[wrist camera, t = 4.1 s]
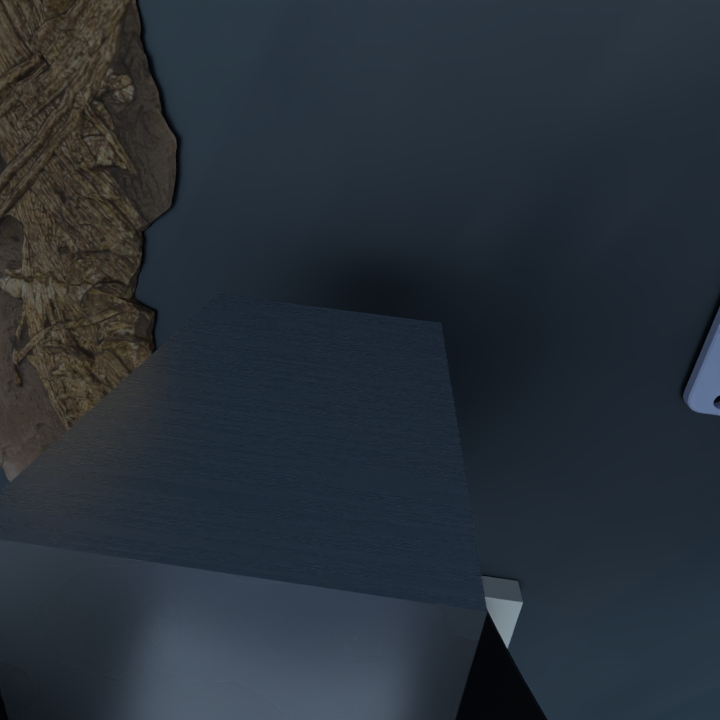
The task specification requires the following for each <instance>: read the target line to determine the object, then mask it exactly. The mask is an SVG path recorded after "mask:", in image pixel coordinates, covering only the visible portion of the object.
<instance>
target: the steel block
mask: <svg viewBox="0 0 720 720" xmlns="http://www.w3.org/2000/svg"><path fill="white" fill-rule="evenodd" d="M486 615H487V607H486V601H485V594H484V588H483V582H482V576H481V569H480V563H479V557H478V550H477V544H476V538H475V531H474V525H473V519H472V513H471V506H470V500H469V494H468V487H467V481H466V475H465V468H464V462H463V456H462V450H461V443H460V437H459V431H458V424H457V418H456V412H455V406H454V399H453V393H452V387H451V380H450V374H449V368H448V361H447V355H446V349H445V343H444V336H443V330H442V324H441V323H439V322H431V321H424V320H416V319H408V318H401V317H393V316H385V315H378V314H370V313H362V312H355V311H347V310H339V309H332V308H324V307H316V306H309V305H301V304H293V303H285V302H278V301H270V300H262V299H255V298H247V297H239V296H232V295H224V294H218V295H217V296H216V297H215V298H214V299H213V300H212V301H211V302H210V303H208V304H207V305H206V306H205V307H204V308H203V309H202V310H201V311H200V312H198V313H197V314H196V315H195V316H194V317H193V318H192V319H191V320H190V321H188V322H187V323H186V324H185V325H184V326H183V327H182V328H181V329H180V330H178V331H177V332H176V333H175V334H174V335H173V336H172V337H171V338H170V339H168V340H167V341H166V342H165V343H164V344H163V345H162V346H161V347H160V348H158V349H157V350H156V351H155V352H154V353H153V354H152V355H151V356H150V357H148V358H147V359H146V360H145V361H144V362H143V363H142V364H141V365H140V366H139V367H137V368H136V369H135V370H134V371H133V372H132V373H131V374H130V375H129V376H127V377H126V378H125V379H124V380H123V381H122V382H121V383H120V384H119V385H117V386H116V387H115V388H114V389H113V390H112V391H111V392H110V393H109V394H107V395H106V396H105V397H104V398H103V399H102V400H101V401H100V402H99V403H97V404H96V405H95V406H94V407H93V408H92V409H91V410H90V411H89V412H87V413H86V414H85V415H84V416H83V417H82V418H81V419H80V420H79V421H77V422H76V423H75V424H74V425H73V426H72V427H71V428H70V429H69V430H67V431H66V432H65V433H64V434H63V435H62V436H61V437H60V438H59V439H57V440H56V441H55V442H54V443H53V444H52V445H51V446H50V447H49V448H48V449H46V450H45V451H44V452H43V453H42V454H41V455H40V456H39V457H38V458H36V459H35V460H34V461H33V462H32V463H31V464H30V465H29V466H28V467H26V468H25V469H24V470H23V471H22V472H21V473H20V474H19V475H18V476H16V477H15V478H14V479H13V480H12V481H11V482H10V483H9V484H8V485H6V486H5V487H4V488H3V489H2V490H1V491H0V692H1V696H2V699H3V703H4V706H5V710H6V713H7V716H8V720H455V718H456V715H457V712H458V708H459V705H460V702H461V698H462V695H463V692H464V688H465V685H466V682H467V678H468V675H469V672H470V668H471V665H472V662H473V658H474V655H475V652H476V648H477V645H478V641H479V638H480V635H481V631H482V628H483V625H484V621H485V618H486Z"/></svg>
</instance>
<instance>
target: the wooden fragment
mask: <svg viewBox="0 0 720 720" xmlns="http://www.w3.org/2000/svg"><path fill="white" fill-rule="evenodd" d="M140 33H141V27H140V19H139V13H138V9H137V6H136V0H0V466H1V467H2V468H3V469H4V470H5V474H6V477H7V478H8V480H9V481H10V482H11V481H12V480H13V479H14V478H15V477H16V476H18V475H19V474H20V473H21V472H22V471H23V470H24V469H25V468H26V467H28V466H29V465H30V464H31V463H32V462H33V461H34V460H35V459H36V458H38V457H39V456H40V455H41V454H42V453H43V452H44V451H45V450H46V449H48V448H49V447H50V446H51V445H52V444H53V443H54V442H55V441H56V440H57V439H59V438H60V437H61V436H62V435H63V434H64V433H65V432H66V431H67V430H69V429H70V428H71V427H72V426H73V425H74V424H75V423H76V422H77V421H79V420H80V419H81V418H82V417H83V416H84V415H85V414H86V413H87V412H89V411H90V410H91V409H92V408H93V407H94V406H95V405H96V404H97V403H99V402H100V401H101V400H102V399H103V398H104V397H105V396H106V395H107V394H109V393H110V392H111V391H112V390H113V389H114V388H115V387H116V386H117V385H119V384H120V383H121V382H122V381H123V380H124V379H125V378H126V377H127V376H129V375H130V374H131V373H132V372H133V371H134V370H135V369H136V368H137V367H139V366H140V365H141V364H142V363H143V362H144V361H145V360H146V359H147V358H148V357H150V356H151V354H152V352H153V350H154V348H155V346H154V343H153V338H152V330H153V327H154V321H155V311H153V310H151V309H150V308H148V307H146V306H145V305H143V304H141V303H140V302H138V301H137V300H136V299H135V289H136V286H137V283H138V282H137V275H138V274H139V272H140V268H141V262H142V245H143V242H144V238H143V236H142V231H144V230H145V229H147V228H148V227H150V226H151V225H152V223H153V222H154V221H155V220H156V219H158V218H159V217H160V216H161V215H162V213H164V212H165V211H167V210H168V209H169V208H170V206H171V200H172V196H173V192H174V185H175V178H176V149H177V142H176V137H175V135H174V133H173V132H172V131H171V130H170V129H169V127H168V125H167V123H166V121H165V119H164V117H163V115H162V108H161V104H160V98H159V93H158V89H157V87H156V84H155V82H154V80H153V78H152V76H151V73H150V69H149V65H148V61H147V57H146V54H145V53H144V49H143V45H142V42H141V39H140Z"/></svg>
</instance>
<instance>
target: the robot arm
mask: <svg viewBox="0 0 720 720" xmlns="http://www.w3.org/2000/svg"><path fill="white" fill-rule="evenodd" d="M719 395H720V307H719V310H718V312H717V314H716V317H715V319H714V321H713V324H712V326H711V329H710V331H709V333H708V336H707V338H706V341H705V343H704V345H703V348H702V350H701V352H700V355H699V357H698V360H697V362H696V364H695V367H694V369H693V372H692V374H691V376H690V379H689V381H688V383H687V386H686V388H685V391H684V395H683V399H684V402H685V403H686V404H687V405H688V406H689V407H690V408H691V409H692V410H693V411H695V412H699V413H705V414H713V415H720V401H719V402H717V403H714V400H715V398H716V397H717V396H719ZM0 720H8V716H7V713H6V710H5V706H4V703H3V699H2V696H1V692H0ZM455 720H547V718H546V716H545V715H544V713H543V711H542V710H541V708H540V706H539V705H538V703H537V701H536V699H535V698H534V696H533V694H532V692H531V691H530V689H529V687H528V686H527V684H526V682H525V680H524V679H523V677H522V675H521V673H520V671H519V670H518V668H517V666H516V664H515V662H514V660H513V659H512V657H511V655H510V653H509V651H508V649H507V647H506V645H505V643H504V641H503V639H502V637H501V636H500V634H499V632H498V630H497V628H496V626H495V624H494V622H493V620H492V618H491V616H490V614H489V612H488V610H487V615H486V618H485V621H484V625H483V628H482V631H481V635H480V638H479V641H478V645H477V648H476V652H475V655H474V658H473V662H472V665H471V668H470V672H469V675H468V678H467V682H466V685H465V688H464V692H463V695H462V698H461V702H460V705H459V708H458V712H457V715H456V718H455Z"/></svg>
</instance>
